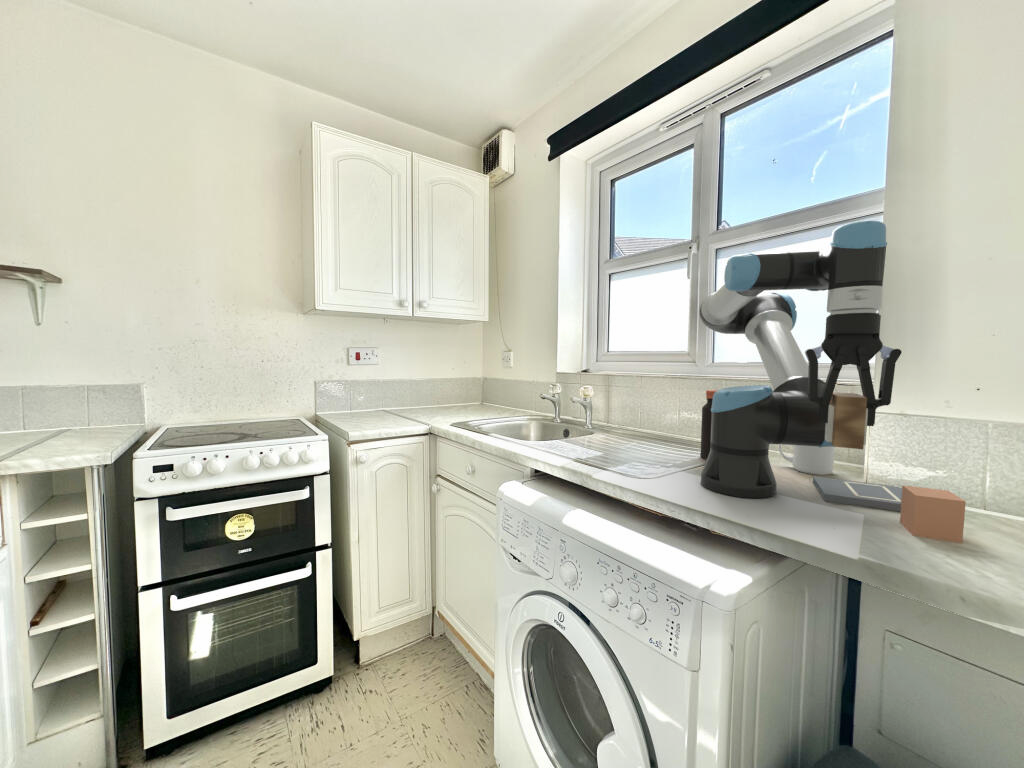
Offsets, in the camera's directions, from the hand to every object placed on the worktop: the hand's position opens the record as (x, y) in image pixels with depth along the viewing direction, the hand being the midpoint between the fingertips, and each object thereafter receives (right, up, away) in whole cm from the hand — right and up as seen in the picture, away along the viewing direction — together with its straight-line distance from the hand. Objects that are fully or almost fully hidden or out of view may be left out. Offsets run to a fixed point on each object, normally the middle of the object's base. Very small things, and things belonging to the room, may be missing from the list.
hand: (844, 441), depth 75 cm
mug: (+17, -12, +34) cm, 40 cm away
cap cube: (+11, -15, -5) cm, 19 cm away
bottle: (-2, -12, +45) cm, 47 cm away
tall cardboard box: (0, 0, 0) cm, 0 cm away
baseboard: (+16, -14, +12) cm, 24 cm away
